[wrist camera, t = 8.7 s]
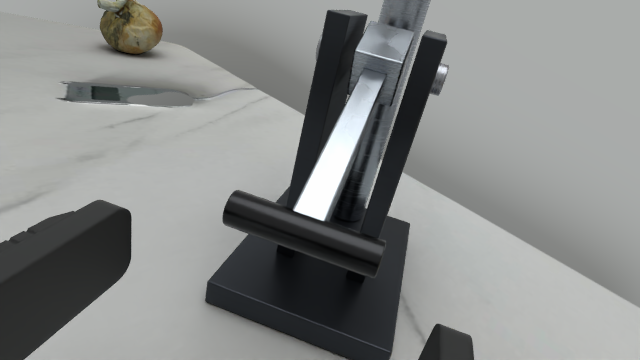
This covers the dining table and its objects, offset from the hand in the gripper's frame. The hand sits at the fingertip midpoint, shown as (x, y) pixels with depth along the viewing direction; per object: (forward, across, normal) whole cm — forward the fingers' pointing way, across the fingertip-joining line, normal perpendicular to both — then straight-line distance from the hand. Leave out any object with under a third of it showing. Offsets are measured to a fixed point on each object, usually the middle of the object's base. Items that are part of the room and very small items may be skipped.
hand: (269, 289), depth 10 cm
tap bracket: (+12, 0, -8) cm, 14 cm away
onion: (+43, -38, -8) cm, 58 cm away
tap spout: (+19, 0, -7) cm, 20 cm away
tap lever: (+8, 0, +1) cm, 8 cm away
